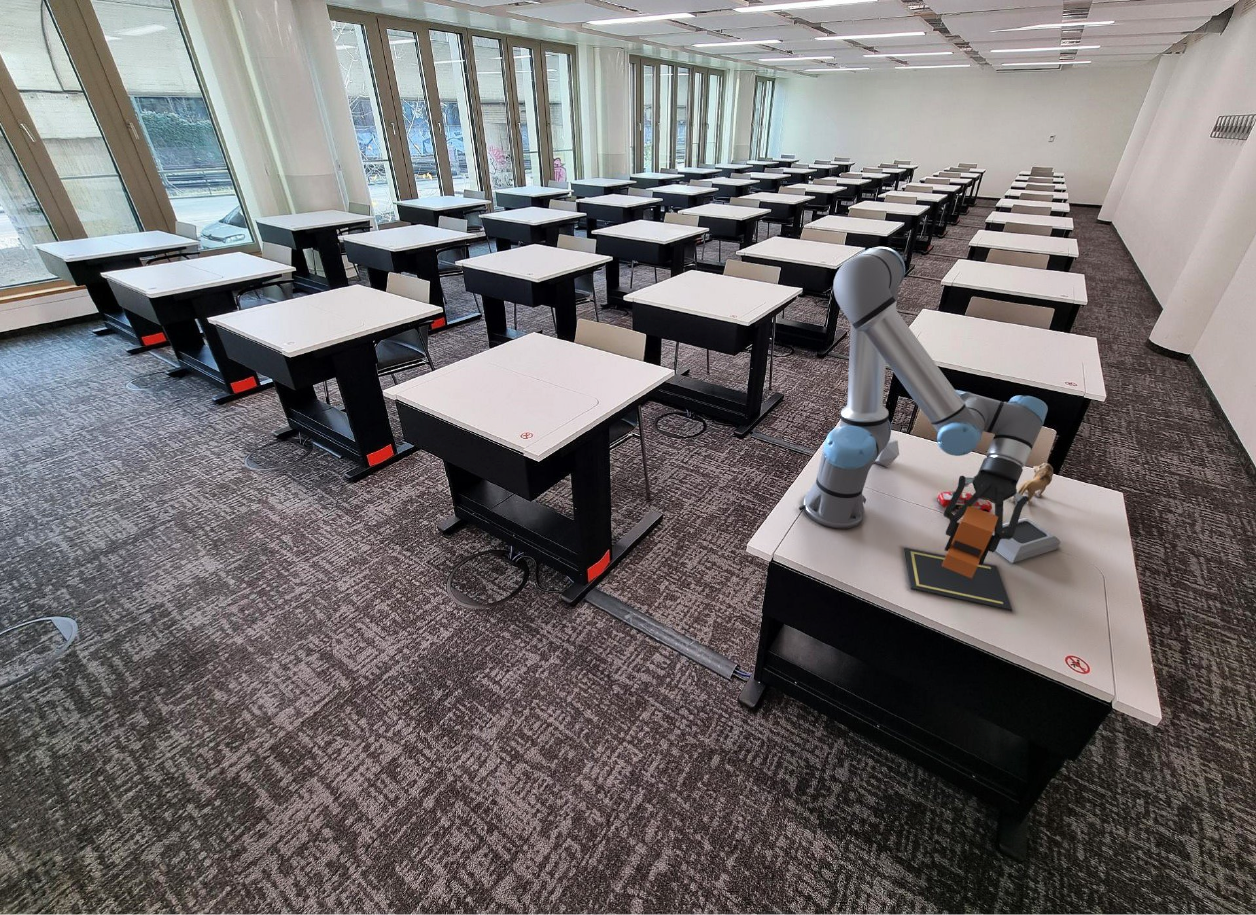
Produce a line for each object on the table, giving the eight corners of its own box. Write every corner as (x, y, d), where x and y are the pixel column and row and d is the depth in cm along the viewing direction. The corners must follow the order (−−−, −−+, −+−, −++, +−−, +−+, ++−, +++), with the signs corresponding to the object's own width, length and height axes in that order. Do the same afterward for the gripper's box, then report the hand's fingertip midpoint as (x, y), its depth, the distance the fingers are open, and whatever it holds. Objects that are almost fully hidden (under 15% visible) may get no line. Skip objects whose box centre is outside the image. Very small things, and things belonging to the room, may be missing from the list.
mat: (910, 589, 120) (911, 587, 119) (904, 548, 131) (904, 547, 131) (1011, 611, 114) (1012, 609, 114) (995, 566, 126) (996, 565, 125)
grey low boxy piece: (983, 526, 132) (1027, 514, 136) (977, 537, 134) (1021, 525, 138) (1018, 551, 125) (1063, 537, 129) (1012, 563, 127) (1056, 548, 131)
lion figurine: (1025, 483, 154) (1038, 457, 149) (1046, 491, 151) (1060, 465, 146) (1007, 504, 146) (1021, 477, 141) (1029, 513, 143) (1044, 486, 138)
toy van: (970, 582, 115) (990, 540, 108) (940, 569, 118) (957, 528, 112) (979, 557, 121) (998, 516, 115) (950, 545, 125) (968, 505, 118)
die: (899, 462, 164) (890, 431, 165) (906, 464, 156) (897, 431, 156) (870, 469, 167) (862, 438, 167) (875, 471, 158) (866, 438, 158)
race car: (986, 504, 146) (992, 493, 144) (992, 517, 141) (998, 505, 139) (934, 497, 148) (939, 486, 146) (939, 509, 144) (944, 497, 142)
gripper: (1051, 482, 116) (1010, 578, 115) (955, 453, 126) (916, 541, 125) (1059, 473, 110) (1016, 574, 108) (958, 443, 120) (917, 535, 118)
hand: (963, 556), depth 116 cm, fingers closed on toy van, 6 cm apart
